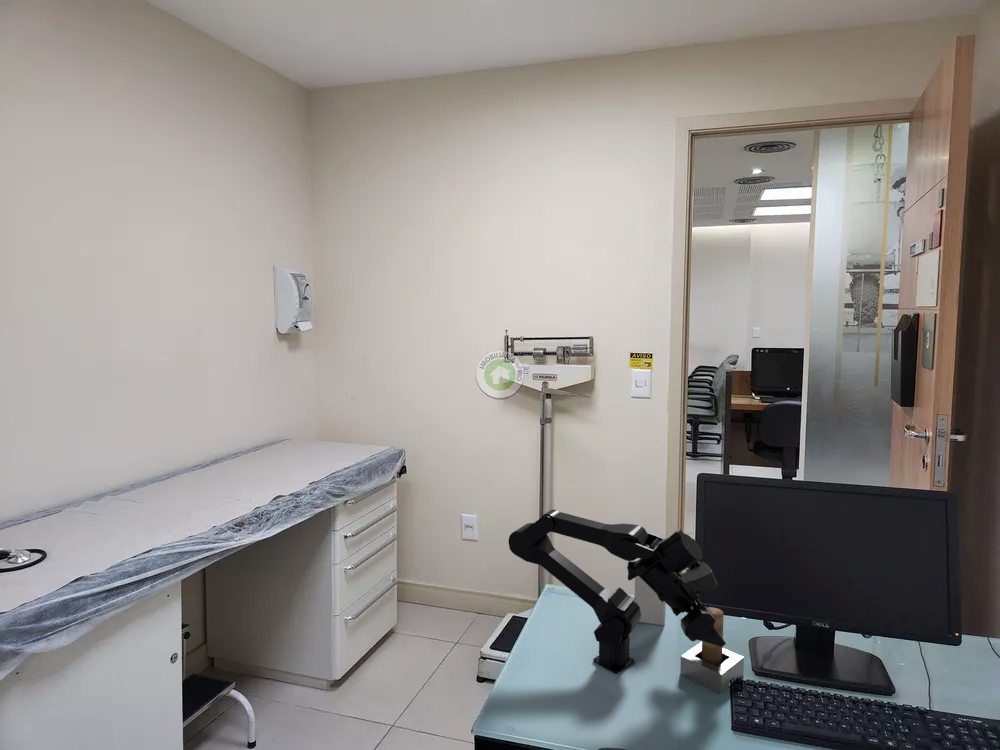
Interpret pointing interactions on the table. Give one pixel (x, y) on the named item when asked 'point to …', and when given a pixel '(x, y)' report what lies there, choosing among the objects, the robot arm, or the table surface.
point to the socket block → (711, 668)
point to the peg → (712, 651)
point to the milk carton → (649, 603)
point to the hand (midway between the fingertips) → (716, 632)
